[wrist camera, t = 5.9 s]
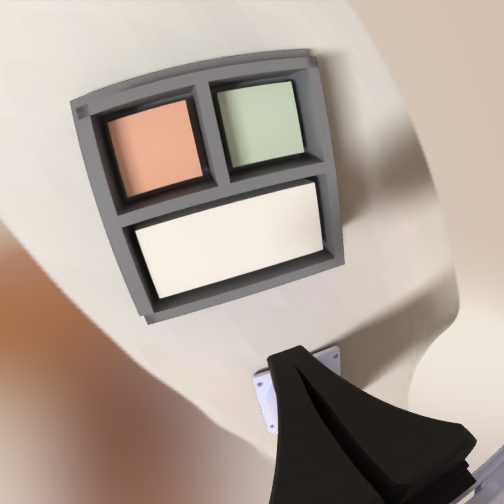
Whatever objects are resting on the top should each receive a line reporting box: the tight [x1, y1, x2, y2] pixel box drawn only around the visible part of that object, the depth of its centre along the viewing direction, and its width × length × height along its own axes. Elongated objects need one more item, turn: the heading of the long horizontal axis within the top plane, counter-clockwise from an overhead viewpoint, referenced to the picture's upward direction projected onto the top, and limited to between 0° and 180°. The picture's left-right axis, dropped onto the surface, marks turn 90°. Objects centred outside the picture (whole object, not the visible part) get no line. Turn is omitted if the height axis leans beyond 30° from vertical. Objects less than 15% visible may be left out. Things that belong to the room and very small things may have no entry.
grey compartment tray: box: [70, 49, 345, 325], centre depth 16 cm, size 14×14×4 cm
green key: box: [213, 82, 304, 168], centre depth 16 cm, size 4×4×2 cm
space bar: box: [135, 178, 323, 298], centre depth 17 cm, size 4×10×2 cm, turn 102°
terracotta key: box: [108, 100, 203, 197], centre depth 15 cm, size 4×4×2 cm
